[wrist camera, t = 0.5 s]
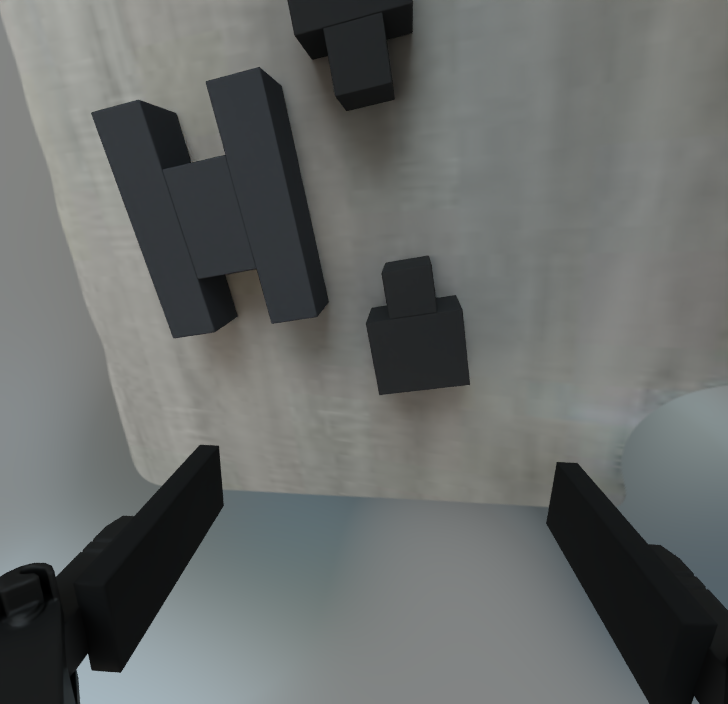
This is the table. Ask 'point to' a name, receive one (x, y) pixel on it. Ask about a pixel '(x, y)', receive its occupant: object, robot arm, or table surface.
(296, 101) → the table surface
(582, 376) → the table surface
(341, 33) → the dark grey t-shaped block
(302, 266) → the base tile
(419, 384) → the dark stepped block
